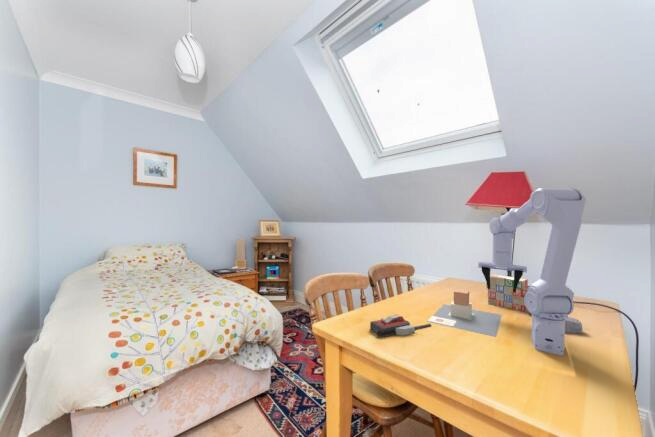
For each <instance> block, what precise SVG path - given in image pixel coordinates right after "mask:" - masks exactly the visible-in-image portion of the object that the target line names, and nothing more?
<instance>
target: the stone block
mask: <svg viewBox="0 0 655 437" xmlns="http://www.w3.org/2000/svg"><path fill="white" fill-rule="evenodd" d="M565 334H583V324H582V322H581V321H580V320H579V319H577V318H574V317H569V316H568V318H565Z"/></svg>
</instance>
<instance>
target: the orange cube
mask: <svg viewBox="0 0 655 437" xmlns="http://www.w3.org/2000/svg"><path fill="white" fill-rule="evenodd" d="M453 301H454V304H458V305H464V306H468V304H469V303H470V290H466V289H465V290H464V289H459V288H458V289H457V288H456V289H455V290H453Z"/></svg>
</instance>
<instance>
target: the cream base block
mask: <svg viewBox="0 0 655 437" xmlns="http://www.w3.org/2000/svg"><path fill="white" fill-rule="evenodd" d="M472 304H473V303H472V302H469V304H468V306H464V305H458V304H454V300H452V302H451V303H450V306H451V315H453V316H458V317H463V318H468V319H469V318H470V316H471V314H472V310H473V309H472V308H473V305H472Z"/></svg>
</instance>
